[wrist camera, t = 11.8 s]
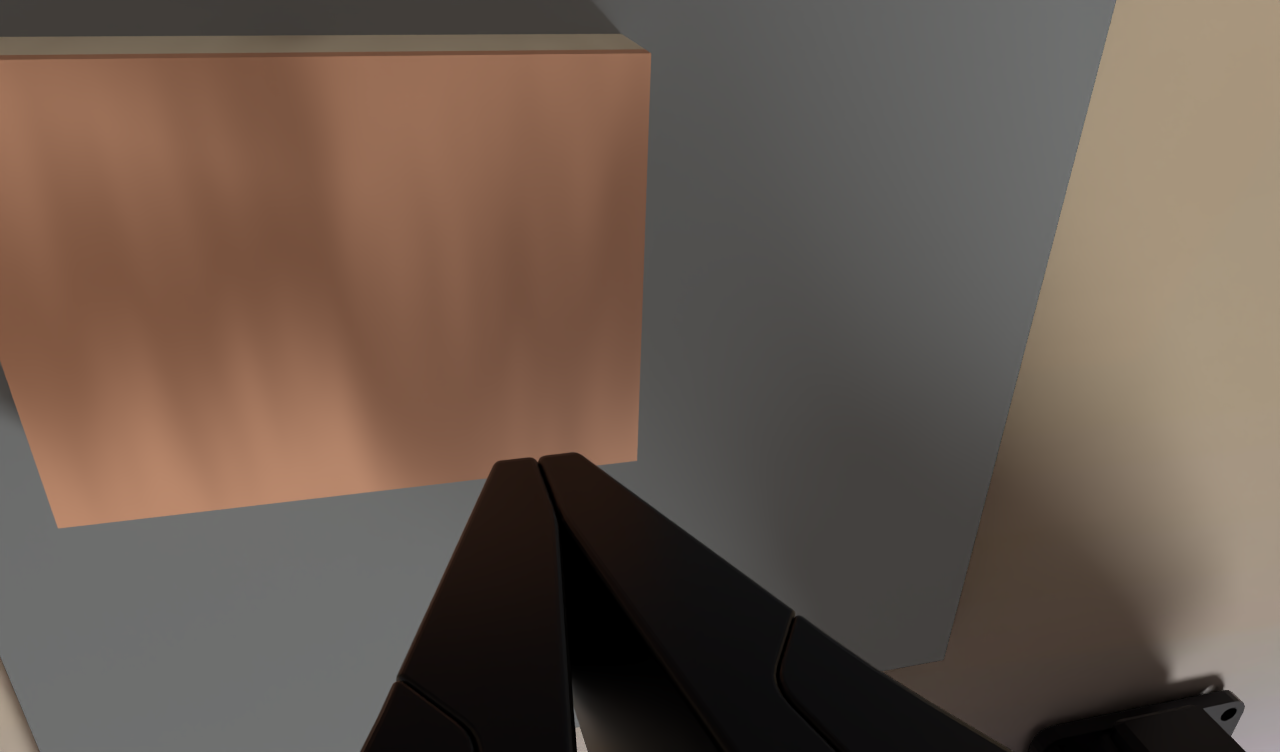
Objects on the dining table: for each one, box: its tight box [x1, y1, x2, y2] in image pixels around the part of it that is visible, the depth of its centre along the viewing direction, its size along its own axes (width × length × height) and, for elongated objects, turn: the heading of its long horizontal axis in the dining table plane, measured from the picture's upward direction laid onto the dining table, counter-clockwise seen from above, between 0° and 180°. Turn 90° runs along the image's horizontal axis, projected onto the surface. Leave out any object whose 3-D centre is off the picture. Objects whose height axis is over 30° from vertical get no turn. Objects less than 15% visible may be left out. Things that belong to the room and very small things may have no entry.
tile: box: [0, 34, 651, 529], centre depth 12 cm, size 6×2×8 cm
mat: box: [0, 0, 1116, 752], centre depth 14 cm, size 22×18×1 cm
